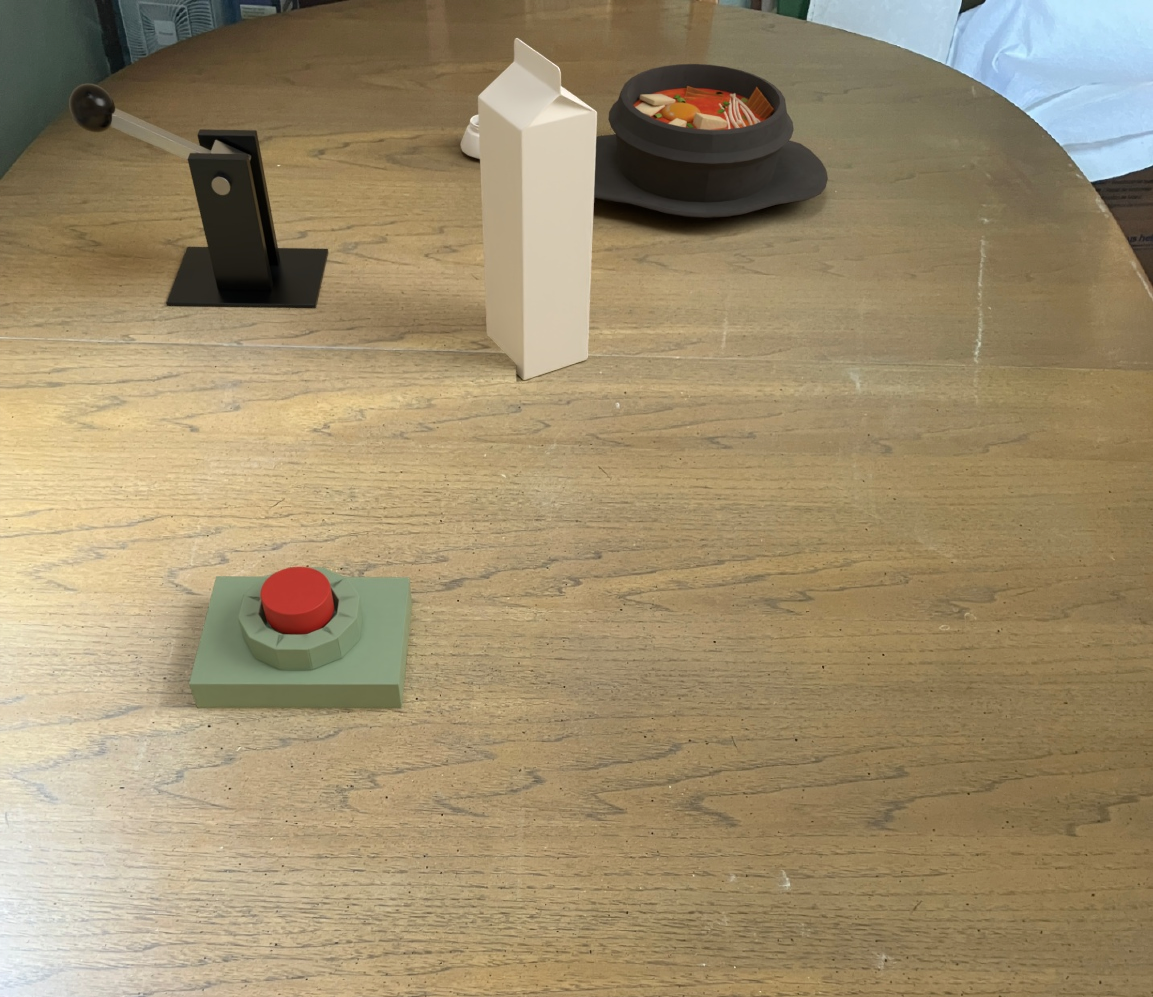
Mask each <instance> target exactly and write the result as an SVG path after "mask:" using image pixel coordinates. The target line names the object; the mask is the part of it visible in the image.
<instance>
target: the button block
mask: <svg viewBox="0 0 1153 997" xmlns="http://www.w3.org/2000/svg"><path fill="white" fill-rule="evenodd" d="M307 567H308V568H312V569H315V570H317V571H319V572H321V573H322V574H324V575H325V576H326V578H327V579H328V581H329V583H330V587H331V592H332V597H333V602H334V613H333V615H332V618H331V619H330V621H329V622H328V623H327V624H326V625H325V626H323V627H322V628H320V629H319V630H316V631H314V632H311V633H308V634H304V635H288V634H284V633H281V632H278V631H277V630H275V629H274V628H272V627H271V626H270V625H269V623H268V622H267V620H266V616H265V612H264V608H263V604H262V601H261V596H260V593H261V588H262V586H263V584H264V582H265V581H266V580H267V579H268V578H269V577H270V576H271V575H273V574H274V573H276V572H277V571H276V572H273V573H269V574H267V575H264V576H263V575H261V576H259V575H258V576H257V575H256V576H255V575H254V576H253V575H251V576H250V575H248V576H247V575H246V576H245V575H239V576H237V575H235V576H234V575H233V576H232V575H216V576H215V580H214V584H213V588H212V592H211V596H210V600H209V604H208V606H207V611H206V615H205V619H204V622H203V626H202V631H201V635H200V639H199V643H198V646H197V651H196V654H195V658H194V662H193V666H192V670H191V673H190V678H189V682H188V686H189V688H190V691H191V694H192V698H193V700H194V703H195V705H196V708H197V709H403V702H404V692H405V681H406V672H407V659H408V651H409V640H410V630H411V619H412V610H413V597H412V596H413V595H412V588H411V579H410V577H409V576H344V575H342V574H339V573H337V572H335V571H332V570H330V569H327V568H326V567H321V566H307ZM288 568H291V566H289V567H288Z"/></svg>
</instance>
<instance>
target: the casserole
mask: <svg viewBox="0 0 1153 997" xmlns="http://www.w3.org/2000/svg"><path fill="white" fill-rule="evenodd" d="M786 102H787V101H786V98H785V96H784V95H783V92H782V91H781V90H780V89H779V88H778V87H777V86H776V85H774V84H773V83H771V82H770V81H769V80H766V79H765V78H762V77H760V76H759V75H755V74H753V73H751V72H748V71H745V70H742V69H737V68H732V67H728V66H725V65H723V66H722V65H715V64H707V63H706V64H705V63H704V64H703V63H701V64H700V63H679V64H670V65H663V66H659V67H653V68H650V69H647V70H644V71H641V72H640V73H637V74H635V75H634V76H632V77H630V78H629V79H628V80H627V81H626V82H625V83H624V85H623V86H622V88H621V90H620V93H619V96H618V99H617V100H616V101H615V102H614V103H613V104H612V106H611V107H610V109H609V111H608V119H607V120H608V124H609V125H610V128H611V129H612V131H613V132H614V133H613V134H604V135H598V136H597V135H596V155H595V181H594V199H599V200H601V201H602V200H603V201H608V202H615V203H623V204H629V205H630V204H631V205H634V206H638V207H640V208H645V209H649V210H652V211H657V212H659V213H664V214H667V215H674V216H680V217H689V218H703V219H704V218H705V219H706V218H727V217H732V216H740V215H745V214H749V213H752V212H756V211H759V210H762V209H766V208H769V207H772V206H775V205H783V204H789V203H790V204H791V203H795V202H796V203H797V202H802V201H803V202H804V201H807V200H811V199H814V198H815V197H818V196H819V195H821V194H822V193H823V191H824V190H825V189H826V187H827V184H828V180H829V178H828V177H829V176H828V172H827V168H826V167H825V165H824V163H823V162H822V160H821V159H820V158H819V157H818V156H817V155H816V154H815V153H814V152H813V151H812V150H811V149H810V148H809V147H807V146H805V145H804V144H802V143H800V142H797V141H794V140H791V138H792V136H793V133H794V131H795V130H794V122H793V119H791V118H792V117H790V115H789V113H788V111H787V110H788V109H787V103H786Z"/></svg>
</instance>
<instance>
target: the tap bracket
mask: <svg viewBox="0 0 1153 997" xmlns="http://www.w3.org/2000/svg"><path fill="white" fill-rule="evenodd" d="M196 136H197V140H198V145H200V146H202V147H204V148H206V149H208V150H211V149H212V147H213V144H214V142H215V140H218V141H220V142H222V143H224V144H226V145H229V146H231V147H233V148H235V149H238V150H240V151H242V152H244V153H246V154H216V153H190V154H189V157H188V160H187V162H188V166H189V171H190V176H191V181H192V184H193V188H194V193H195V197H196V198H195V199H196V203H197V206H198V210H199V215H200V220H201V222H202V223H201V224H202V227H203V228H202V229H203V232H204V236H205V241H206V245H207V246H186V249H185V252H184V255H183V257H182V259H181V262H180V264H179V267H178V270H177V272H176V275H175V277H174V281H173V283H172V286H171V289H170V291H169V294H168V296H167V299H166V302H165V305H166V307H184V308H185V307H187V308H199V307H200V308H253V309H254V308H256V309H261V308H263V309H267V308H268V309H317V305H318V301H319V296H320V291H321V287H322V284H323V278H324V274H325V270H326V265H327V260H328V256H329V248H314V247H313V248H311V247H310V248H309V247H307V248H306V247H279V246H278V240H277V235H276V229H275V223H274V219H273V218H274V217H273V213H272V208H271V202H270V196H269V190H268V186H267V179H266V175H265V168H264V164H263V158H262V152H261V147H260V141H259V136H258V131H257V130H256V129H255V130H252V129H208V128H207V129H206V128H205V129H203V128H200V129H199V130H198V132H197V135H196ZM248 154H249V155H251V159H250V160H249V155H248Z"/></svg>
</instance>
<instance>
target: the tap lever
mask: <svg viewBox="0 0 1153 997" xmlns="http://www.w3.org/2000/svg"><path fill="white" fill-rule="evenodd" d="M69 96H70V97H69V101H68V105H69V106H68V108H69V112H70V115H71V117H72V119H73V120H74V121H75V123H76V124H77V125H78V126H80V127H81V128H82V129H83V130H85V131H88V132H91V133H104V132H106V131H107V130H109V129H110V128H113V129H115V130H118V131H120V132H122V133H124V134H126V135H128V136H130V137H133V138H136V139H138V140H140V141H142V142H145V143H147V144H149V145H151V146H153V147H156V148H158V149H160V150H163V151H165V152H168V153H170V154H172V155H174V156H176V157H179V158H181V159H182V160H183V159H184V160H186V161H188V157H189V154H190V153H216V154H246V153H244V152H242V151H240V150H238V149H235V148H233V147H231V146H229V145H226V144H224V143H222V142H220V141H218V140H215V142H214V144H213V147H212V149H211V150H208V149H206V148H204V147H202V146H200V145H199V144H197V143H195V142H193V141H190V140H189V139H186V138H183V137H181V136H179V135H177V134H176V133H173V132H170V131H169V130H166V129H163V128H161V127H159V126H157V125H155V124H152V123H150V122H148V121H146V120H144V119H141V118H139V117H136V116H135V115H133V114H130V113H127V112H126V111H123V110H121V109H119V108H116V105H115V102H114V99H113V98H112V96H111V94H110V93H109V92H108V91H107V90H105V89H104V88H103V87H102V86H100V85H98V84H94V83H83V84H80V85H78V86H77V87H75V88H74V89H73V90H72V92H71V94H70V95H69ZM248 155H249V154H248ZM250 159H251V155H249V160H250Z"/></svg>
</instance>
